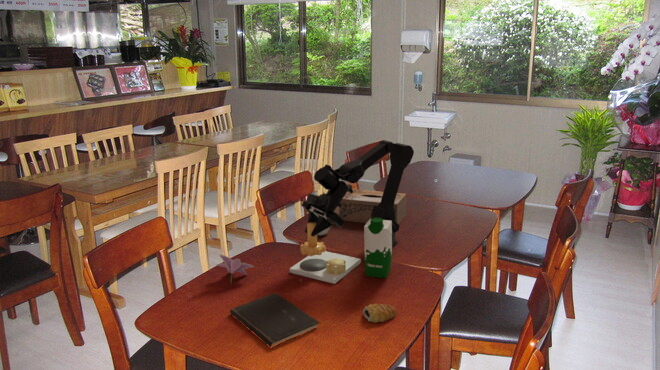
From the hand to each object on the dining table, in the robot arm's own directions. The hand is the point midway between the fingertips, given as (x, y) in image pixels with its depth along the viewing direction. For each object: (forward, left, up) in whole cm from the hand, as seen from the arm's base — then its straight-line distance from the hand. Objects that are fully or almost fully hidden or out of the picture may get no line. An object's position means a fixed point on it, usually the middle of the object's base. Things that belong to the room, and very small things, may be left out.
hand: (308, 234), depth 183 cm
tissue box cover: (+4, -56, -14) cm, 58 cm away
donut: (+13, -29, -14) cm, 35 cm away
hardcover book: (-9, +33, -14) cm, 37 cm away
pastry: (-34, +16, -14) cm, 40 cm away
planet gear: (-1, -1, -7) cm, 7 cm away
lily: (+19, +17, -14) cm, 29 cm away
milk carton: (-22, -9, -14) cm, 27 cm away
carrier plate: (-4, -4, -13) cm, 14 cm away
